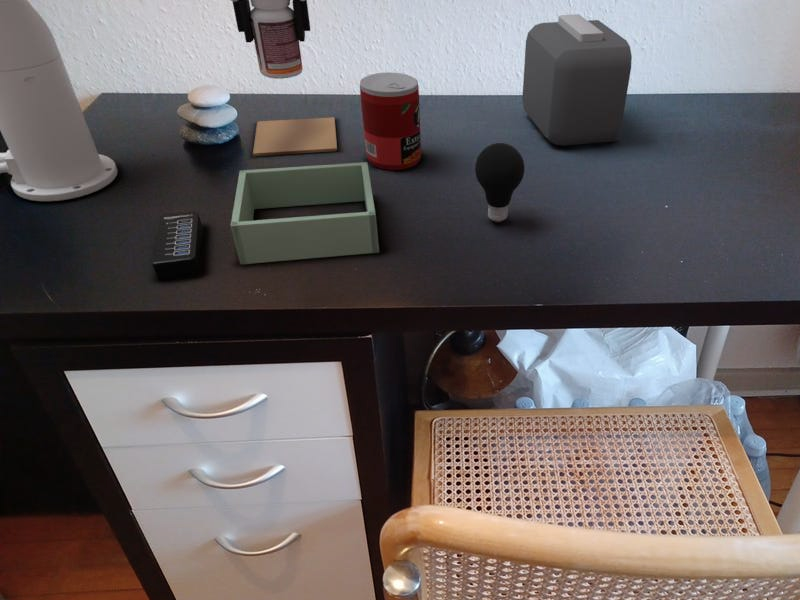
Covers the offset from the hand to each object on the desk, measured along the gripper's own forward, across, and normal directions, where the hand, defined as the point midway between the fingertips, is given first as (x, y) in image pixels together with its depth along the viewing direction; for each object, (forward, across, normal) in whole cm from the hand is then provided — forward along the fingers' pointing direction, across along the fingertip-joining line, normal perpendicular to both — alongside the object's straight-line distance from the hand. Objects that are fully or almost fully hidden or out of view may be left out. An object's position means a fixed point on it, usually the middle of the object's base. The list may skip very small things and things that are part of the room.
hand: (276, 36), depth 72 cm
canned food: (+20, -13, -11) cm, 26 cm away
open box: (+20, -1, +7) cm, 21 cm away
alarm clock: (+20, -41, -19) cm, 49 cm away
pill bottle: (+4, 0, 0) cm, 4 cm away
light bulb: (+20, -24, +9) cm, 33 cm away
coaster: (+20, +1, -21) cm, 29 cm away
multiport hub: (+20, +13, +10) cm, 26 cm away
